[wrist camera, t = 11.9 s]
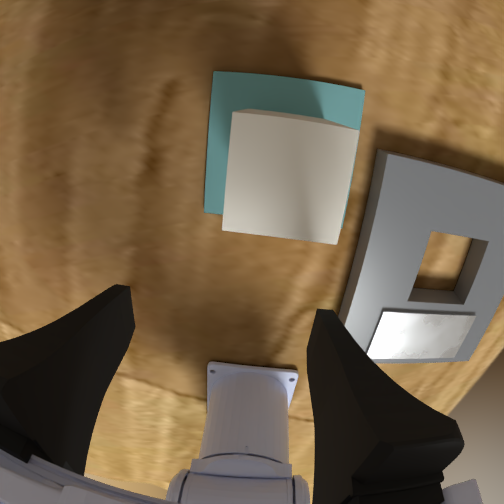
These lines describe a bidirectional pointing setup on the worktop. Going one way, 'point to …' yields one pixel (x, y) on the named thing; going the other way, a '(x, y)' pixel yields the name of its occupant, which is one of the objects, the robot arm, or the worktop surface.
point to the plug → (288, 175)
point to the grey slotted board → (410, 257)
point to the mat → (271, 99)
